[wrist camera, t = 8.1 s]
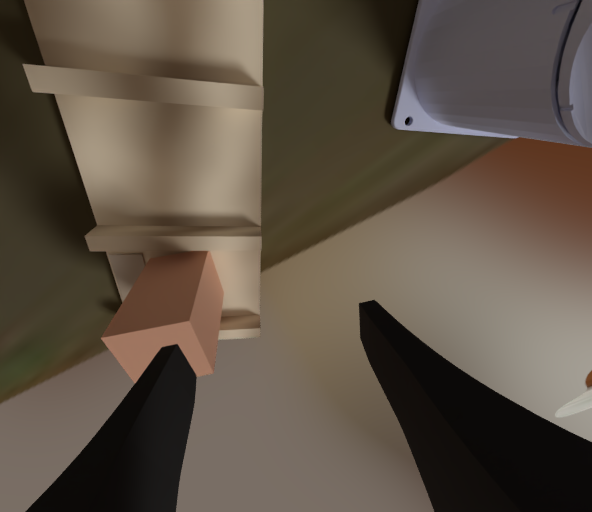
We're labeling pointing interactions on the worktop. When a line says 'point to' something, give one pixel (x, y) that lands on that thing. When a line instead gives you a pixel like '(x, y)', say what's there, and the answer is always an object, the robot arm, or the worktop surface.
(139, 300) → the block
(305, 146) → the worktop surface
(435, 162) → the worktop surface
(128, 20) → the notched rack
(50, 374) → the worktop surface
